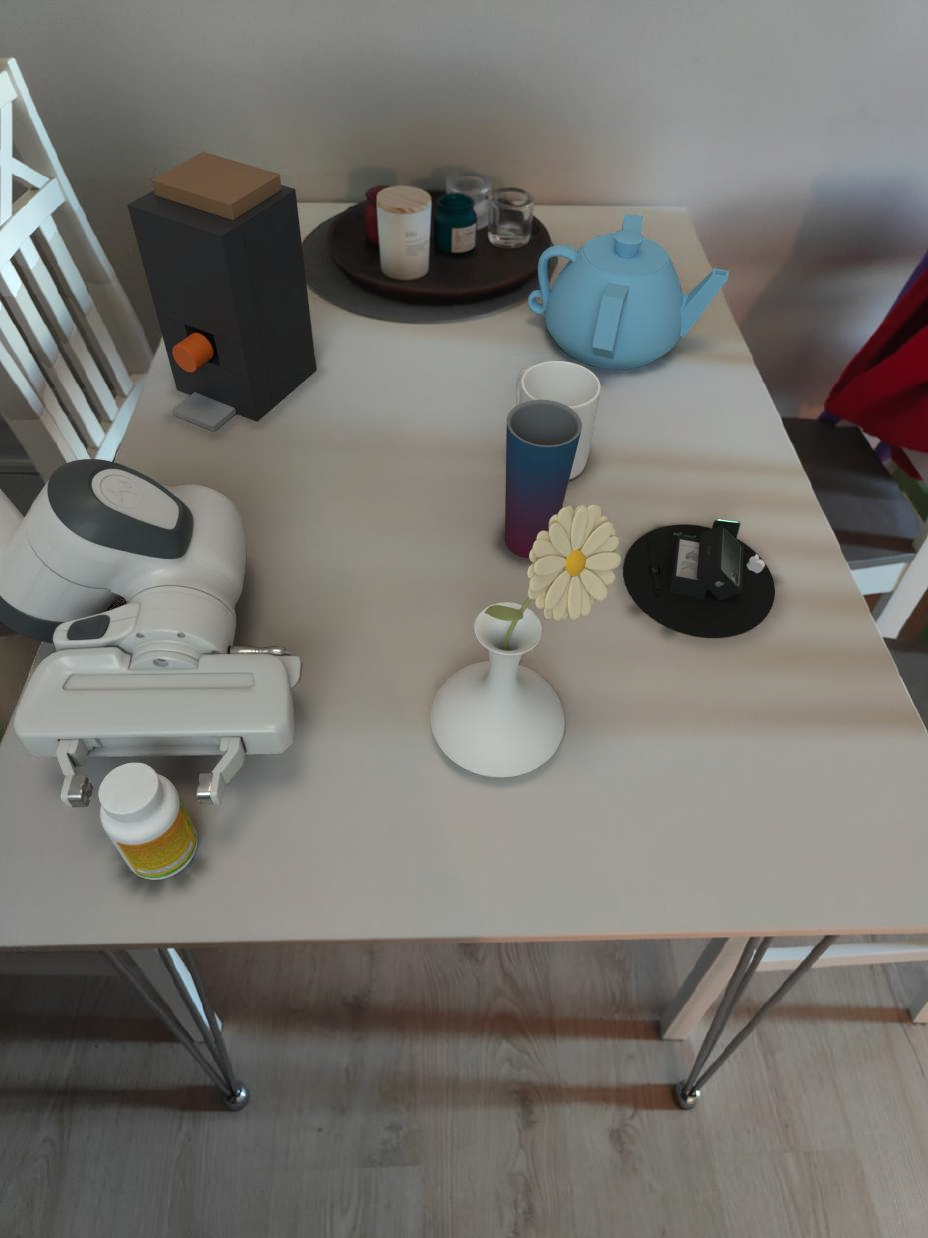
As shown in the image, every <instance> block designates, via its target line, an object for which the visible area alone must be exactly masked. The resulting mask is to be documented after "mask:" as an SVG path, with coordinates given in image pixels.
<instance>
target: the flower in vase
mask: <svg viewBox="0 0 928 1238" xmlns="http://www.w3.org/2000/svg"><path fill="white" fill-rule="evenodd" d="M602 513H603V511H602V508H601V506H599V505H596V504H590V505H589V506H587V505H585V504H583V503H581V504H579V505H577V506H576V508H575V509H574V508H573V507H572V506H571V505H567V506H564V507H562V509H561V510H560V511H559V512H558V515H554V516H552V517H551V518H550V521H549V532H547V531H541V532H539V533H538V535H537V538H536V541H535V542H534V544H533V548H532V549H531V551H530V554H529V558H528V559H529V560H530V562H532V563H531V564H530V565H529V566H528V568H527V571H526V574H527V577H528V579H529V583H528V586H529V587H528V589H527V596H528V597H527V598H526V599H525V601H524V603H523V604H519V603H517V602H508V601H507V602H506V601H504V602H497V603H493V604H490V605H488V606H487V607H484V608H483V609H482V610H481V611H480V612H479V613H478V614H477V616H476V617H475V620H474V625H473V629H474V633H475V636H476V638H477V640H478V642H479V643H480V644H481V645H482V646H483V648H485V649H486V650H487V652H488V658H489V660H485V661H479V662H475V663H472V664H470V665H466V666H465V667H463V668H461V669H459V670H457V671H456V672H454V673H453V674H452V675H451V676H449V677H448V678H447V679H446V680H445V681H444V682H443V684H442V685H441V686H440V688H439V689H438V691H437V693H436V694H435V696H434V698H433V701H432V703H431V707H430V717H429V718H430V719H429V721H430V728H431V733H432V735H433V737H434V739H435V742H436V743H437V745H438V746H439V748H440V749H441V751H442V752H443V753H444V755H446V756H447V758H448V759H450V760H451V761H452V762H453V763H455V764H456V765H458V766H459V767H461V768H463V769H465V770H467V771H469V772H471V773H474V774H477V775H480V776H484V777H490V778H511V777H515V776H517V777H518V776H521V775H524V774H527V773H529V772H532V771H534V770H536V769H537V768H539V767H540V766H542V765H544V764H545V763H546V762H548V761H549V760H550V759H551V757H552V756H553V755H554V754H555V753H556V751H558V748H559V747H560V744H561V742H562V740H563V737H564V734H565V724H566V723H565V721H566V719H565V714H564V709H563V706H562V703H561V701H560V699H559V697H558V695H557V693H556V691H555V689H554V688H553V686H551V684H550V683H549V682H548V681H547V680H546V679H545V678H544V677H543V676H542V675H540V674H539V673H537V672H535V671H534V670H532V669H530V668H528V667H526V666H525V665H522V664H520V662H521V659H522V657H523V655H524V654H526V653H528V652H530V651H532V650H533V649H535V648H536V647H537V645H538V644H539V642H540V641H541V639H542V635H543V626H542V621H541V620H540V619H539V617H538V615H537V614H536V613H535V612H534V611H533V610H532V609H530V608H529V605H530V604H531V602H532V601H533V600H534V604H535V606H536V608H537V609H538V610H542V609H543V616H544V618H545V619H546V620H551V619H552V618H553V619H554V620H555V621H556V622H560V621H561V620H566V619H568V617H569V618H570V619H571V620H572V621H576V620H578V619H579V618H580V617H581V615H582V616H583V617H587V616H589V615H590V614H591V612H592V607H593V606H594V604H595V601H596V600H597V601H599V602H603V601H605V600H606V599H607V598H608V595H609V592H608V587H607V586H610V585H612V584H614V583H615V581H616V577H617V576H616V573H615V571H614V570H615V569H616V568H618V567H619V566H620V564H621V563H622V556H621V555H620V554H619V553H617V548H618V547H619V545H620V538H619V536H617V535H616V534H617V530H616V528H615V527H614V525H613V523H612V522H611V521H609V518H608V517H607V516H606V515H602Z"/></svg>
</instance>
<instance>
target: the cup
mask: <svg viewBox="0 0 928 1238" xmlns="http://www.w3.org/2000/svg"><path fill="white" fill-rule="evenodd" d="M581 430H582V422H581V419H580V417H579V416H578V414H577V413H576V412H575V411H574V410H572V409H571V408H569V407H568V406H566V405H564V404H561V403H558V402H555V401H550V400H531V401H527V402H524V403H521V404H519V405H517V404H516V405H515V406H514V407H513V408H512V409H511V410H510V411H509V412H508V414H507V416H506V439H505V440H506V441H505V497H504V499H505V506H504V543H505V546H506V547H507V549H508V550H509V551H510V552H512V553H513V554H515V555H516V556H519V557H522V558H527V559H529V554H530V551H531V549H532V548H533V544H534V542H535V541H536V538H537V535H538V533H539V532H541V531H547V532H549V521H550V518H551V517H552V516H554V515H558V512H559V511H560V510H561V509H562V508H563V505H564V501H565V497H566V493H567V490H568V485H569V482H570V480H569V478H570V474H571V470H572V466H573V462H574V458H575V454H576V450H577V446H578V442H579V438H580V434H581Z"/></svg>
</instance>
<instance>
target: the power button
mask: <svg viewBox="0 0 928 1238" xmlns="http://www.w3.org/2000/svg"><path fill="white" fill-rule="evenodd" d="M172 353H173V357H174V359H175V361H176V362H177V364H178V365H179V366H180V367H181V368H182V369H184V370H185V371H187V372H194V371H196V370H197V369H198V368H200V367H201V366H202V365H203V364H205V363H206V362H207V361H209V360H210V359H211V358H212V357H213V348H212V346H211V344H210V342H209V341H208V340H207V339H206V338H205V337H204V336H203V335H201V334H199V333H192V334H191V335H189V336H188V337H187V338H185V339H184V340H182V341H181V342H180V343H178V344H177V345H176V346H174V347H173V350H172Z"/></svg>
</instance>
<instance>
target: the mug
mask: <svg viewBox="0 0 928 1238" xmlns="http://www.w3.org/2000/svg"><path fill="white" fill-rule="evenodd" d="M601 388H602V386H601V383H600V380H599V378H598V377H597V375H595V373H594V372H593V371H592V370H590V369H589V368H587V367H586V366H583V365H581V364H578V363H574V362H571V361H564V360H549V361H548V360H547V361H543V362H539V363H536V364H534V365H532V366H527V367H524V368H522V370H521V371H520V373H519V374H518V376H517V379H516V384H515V401H516V406H517V405H519V404H521V403H524V402H527V401H531V400H550V401H555V402H558V403H561V404H564V405H566V406H568V407H569V408H571V409H572V410H574V411H575V412H576V413H577V414H578V416H579V417H580V419H581V422H582V430H581V434H580V438H579V442H578V446H577V450H576V454H575V458H574V462H573V466H572V470H571V474H570V478H569V481H570V480H572V479H574V478H576V477H578V475H580V474H581V473H582V472H583V471H584V469H585V467H586V465H587V462H588V459H589V454H590V449H591V445H592V439H593V434H594V428H595V423H596V416H597V412H598V406H599V400H600V395H601V390H602V389H601Z"/></svg>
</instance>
